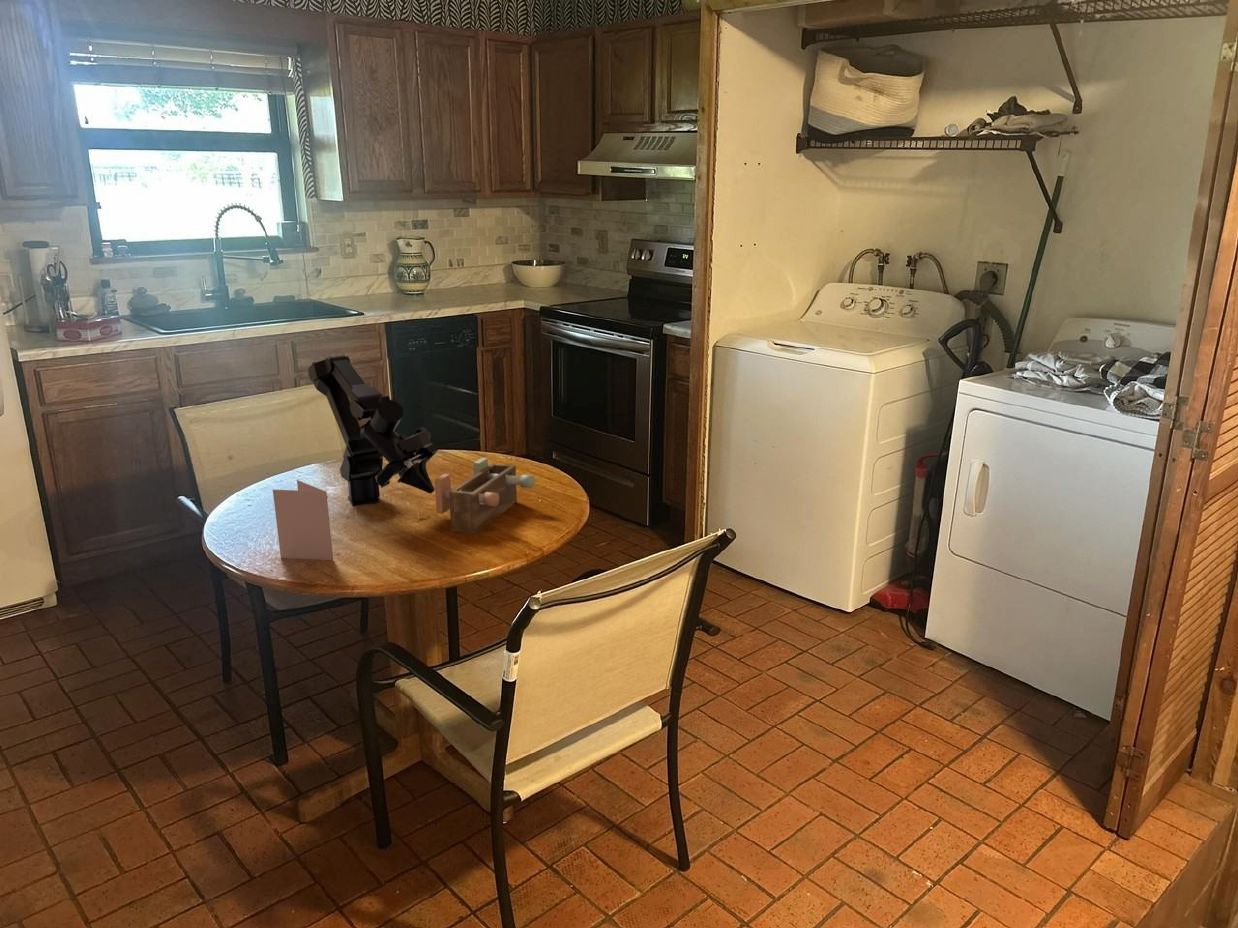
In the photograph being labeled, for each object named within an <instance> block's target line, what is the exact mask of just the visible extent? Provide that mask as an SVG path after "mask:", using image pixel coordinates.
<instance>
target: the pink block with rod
mask: <svg viewBox="0 0 1238 928" xmlns="http://www.w3.org/2000/svg"><path fill="white" fill-rule="evenodd" d="M451 486H452V484H451V474H450V473H443V474H441V475H440V476H438V477H436V478H434V492H435V493H434V494H435V506H436V509H435V510H436V514H441V515H444V514H445V513H446V512H448V510H450V500H449V491H451V490H452V487H451ZM462 492H464V491H462ZM471 493H472V492H471ZM479 502H481V503H484V505H487V506H497V505H498V503H499V494H498V493H492V492H486V493H485V494H481V493H479Z"/></svg>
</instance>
